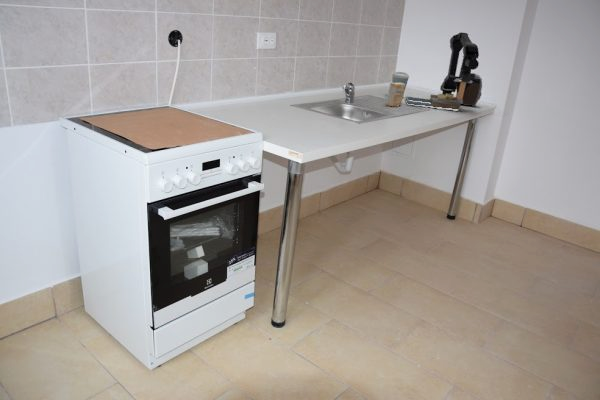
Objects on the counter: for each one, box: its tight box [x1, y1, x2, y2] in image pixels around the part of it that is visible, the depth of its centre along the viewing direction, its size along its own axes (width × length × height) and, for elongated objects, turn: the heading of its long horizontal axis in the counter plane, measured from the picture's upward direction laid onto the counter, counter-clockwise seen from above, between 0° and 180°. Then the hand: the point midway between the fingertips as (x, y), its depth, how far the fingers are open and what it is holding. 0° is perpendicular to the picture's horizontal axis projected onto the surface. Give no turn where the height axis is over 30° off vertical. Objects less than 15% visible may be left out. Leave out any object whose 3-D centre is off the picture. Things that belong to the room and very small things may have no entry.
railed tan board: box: [429, 94, 461, 110], centre depth 297 cm, size 15×15×6 cm
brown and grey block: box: [454, 80, 466, 105], centre depth 293 cm, size 10×3×12 cm, turn 175°
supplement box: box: [386, 82, 406, 108], centre depth 285 cm, size 8×5×13 cm, turn 129°
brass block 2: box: [445, 93, 455, 101], centre depth 297 cm, size 4×4×4 cm
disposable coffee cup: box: [391, 71, 410, 92], centre depth 310 cm, size 11×11×15 cm
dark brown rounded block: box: [455, 72, 483, 107], centre depth 308 cm, size 15×8×20 cm, turn 76°
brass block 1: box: [437, 93, 446, 100], centre depth 293 cm, size 4×4×4 cm
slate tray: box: [404, 96, 434, 106], centre depth 298 cm, size 14×16×2 cm
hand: (460, 93), depth 294 cm, fingers closed on brown and grey block, 3 cm apart
